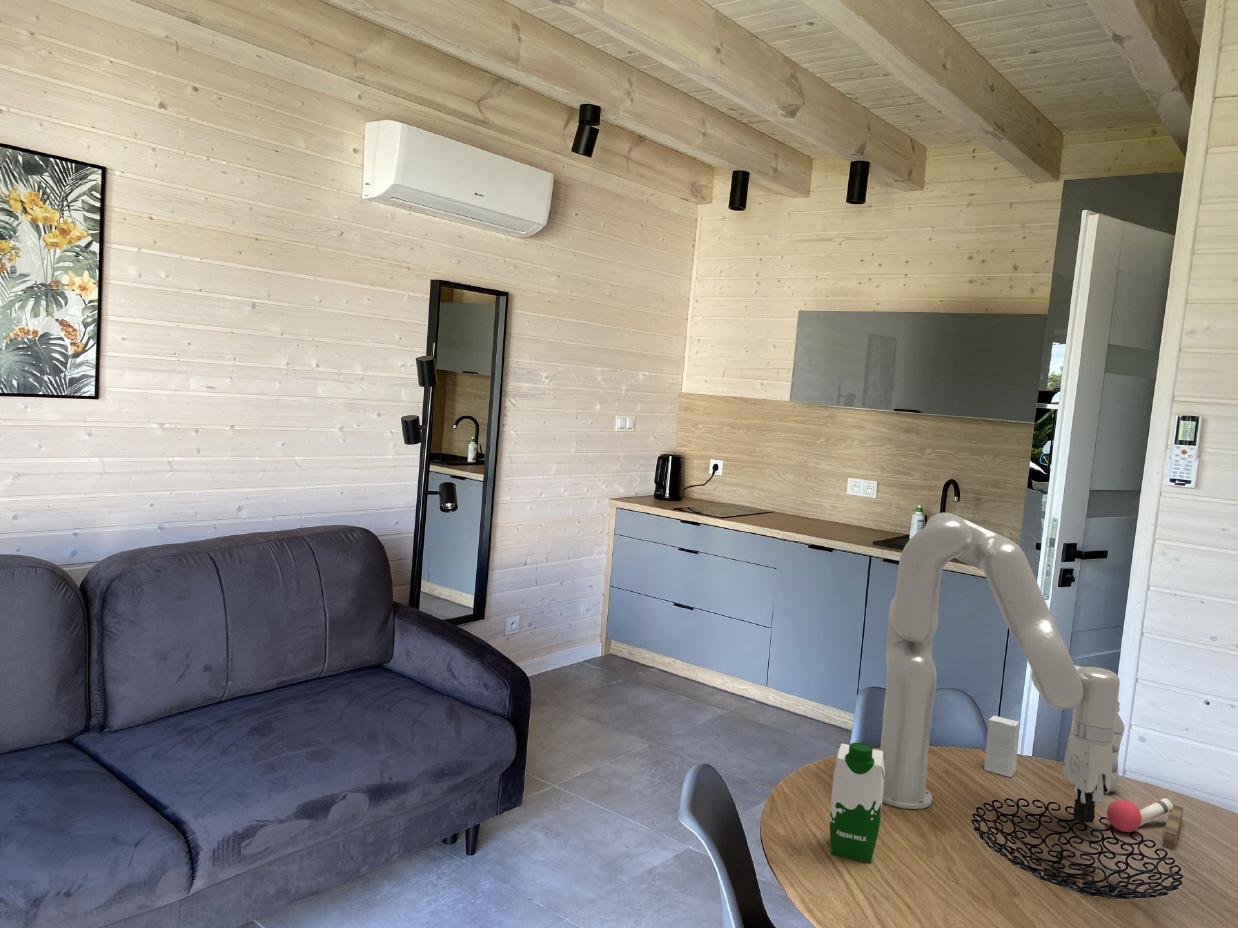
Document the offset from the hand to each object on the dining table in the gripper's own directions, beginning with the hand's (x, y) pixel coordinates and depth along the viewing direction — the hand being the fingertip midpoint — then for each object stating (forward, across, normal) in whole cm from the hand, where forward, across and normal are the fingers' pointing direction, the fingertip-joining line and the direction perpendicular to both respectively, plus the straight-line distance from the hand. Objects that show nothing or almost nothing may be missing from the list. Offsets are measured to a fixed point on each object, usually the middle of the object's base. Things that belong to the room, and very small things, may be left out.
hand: (1083, 820), depth 177 cm
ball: (-2, 0, +8) cm, 8 cm away
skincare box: (+2, -26, -6) cm, 27 cm away
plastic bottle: (+2, -20, +14) cm, 24 cm away
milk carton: (+2, +17, -50) cm, 53 cm away
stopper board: (+1, 0, +18) cm, 18 cm away
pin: (0, -2, +12) cm, 12 cm away
